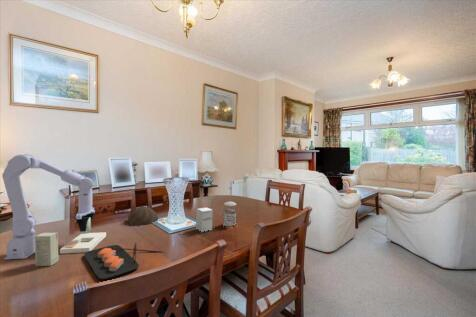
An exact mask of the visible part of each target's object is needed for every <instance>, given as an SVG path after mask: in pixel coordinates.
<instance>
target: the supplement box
mask: <svg viewBox="0 0 476 317" xmlns="http://www.w3.org/2000/svg"><path fill="white" fill-rule="evenodd" d="M195 213H196V216H195V217H196V218H195V230H197V229H198V230H199V231H198V230H197V231H198V232H200V231H201V232H200V233H204V231H205V232H208V230H209V231H213V209H212V208H209V207H200V208H196V212H195Z"/></svg>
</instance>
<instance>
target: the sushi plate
mask: <svg viewBox="0 0 476 317" xmlns="http://www.w3.org/2000/svg"><path fill="white" fill-rule="evenodd" d="M126 250H127V251H134V258H133V257H132V256H131V255H130V254H129V253H128V252H127V251H126ZM137 251H139V252H147V253H163V252H162V251H160V250H147V249H137V244H136V245H135V244H134V248H123V247H122V246H121V245H118V244H112V245H108V246H103V247H99V248H95V249H92V250H91V251H88V252H84V258H85V260H86V262H87V263H88V265H89V266H90V268H91V269H92V270H93V272H94V275H95V276H96V277H97V278H98V279H100V280H107V279H111V278H114V277H117V276H121V275H124V274H127V273H130V272H132V271H134V270H137V269H138V268H139V266H140V265H139V263H138V262H137Z"/></svg>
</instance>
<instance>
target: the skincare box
mask: <svg viewBox="0 0 476 317" xmlns="http://www.w3.org/2000/svg"><path fill="white" fill-rule="evenodd" d="M34 254H35V267H47V266H48V267H51V266H53V265H55V264H56V263H58V262H59V260H60V259H59V232H42V233H39V234H37V235H35V253H34Z"/></svg>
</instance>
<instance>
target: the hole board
mask: <svg viewBox="0 0 476 317" xmlns="http://www.w3.org/2000/svg"><path fill="white" fill-rule="evenodd" d="M106 237H107V232H90V233H87V234H80V233H79V235H78V236H76V237H75V238H73V239H71V240H70V241H69V242H67V243H66V244H65V245H63V246H62V247H61V248H60V249H59V254H60V255H61V254H62V255H63V254H76V253H77V254H80V253H86V252H88V251H91V250H94V248H95V247H96V246H98V244H100V243H101V242H102V241H103V239H105V238H106Z"/></svg>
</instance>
